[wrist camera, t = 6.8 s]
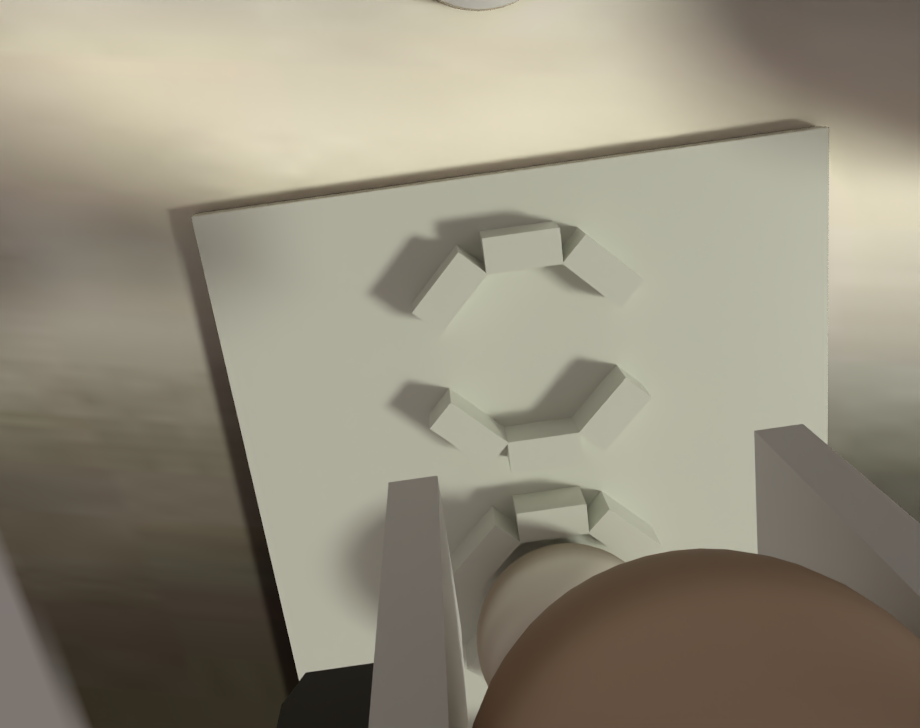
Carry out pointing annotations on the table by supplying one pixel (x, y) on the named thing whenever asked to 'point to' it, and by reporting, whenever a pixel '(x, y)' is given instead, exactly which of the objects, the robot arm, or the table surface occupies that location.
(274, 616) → the table surface
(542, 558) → the egg cream mid
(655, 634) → the light brown ball
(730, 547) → the tray
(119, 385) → the table surface
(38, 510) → the table surface
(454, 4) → the egg cup
